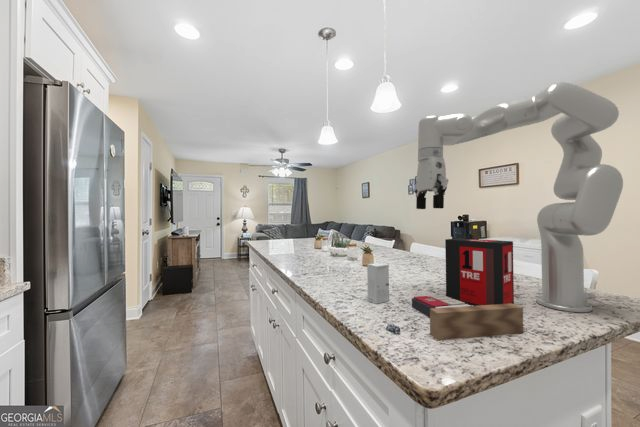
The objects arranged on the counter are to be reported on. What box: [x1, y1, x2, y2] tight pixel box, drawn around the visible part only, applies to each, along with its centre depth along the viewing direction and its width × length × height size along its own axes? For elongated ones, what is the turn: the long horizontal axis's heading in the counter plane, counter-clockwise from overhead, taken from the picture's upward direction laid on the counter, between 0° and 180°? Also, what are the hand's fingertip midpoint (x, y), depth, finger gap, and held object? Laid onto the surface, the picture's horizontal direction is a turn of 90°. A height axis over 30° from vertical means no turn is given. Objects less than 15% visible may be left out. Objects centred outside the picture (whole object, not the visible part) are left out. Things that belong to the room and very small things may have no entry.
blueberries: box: [385, 322, 401, 336], centre depth 64 cm, size 7×8×2 cm
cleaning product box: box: [445, 237, 515, 306], centre depth 84 cm, size 16×9×20 cm, turn 37°
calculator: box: [411, 294, 471, 318], centre depth 75 cm, size 11×4×15 cm
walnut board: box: [429, 303, 524, 341], centre depth 62 cm, size 22×3×6 cm, turn 98°
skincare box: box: [366, 262, 390, 305], centre depth 87 cm, size 6×4×12 cm
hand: (429, 208), depth 85 cm, fingers open, 9 cm apart
